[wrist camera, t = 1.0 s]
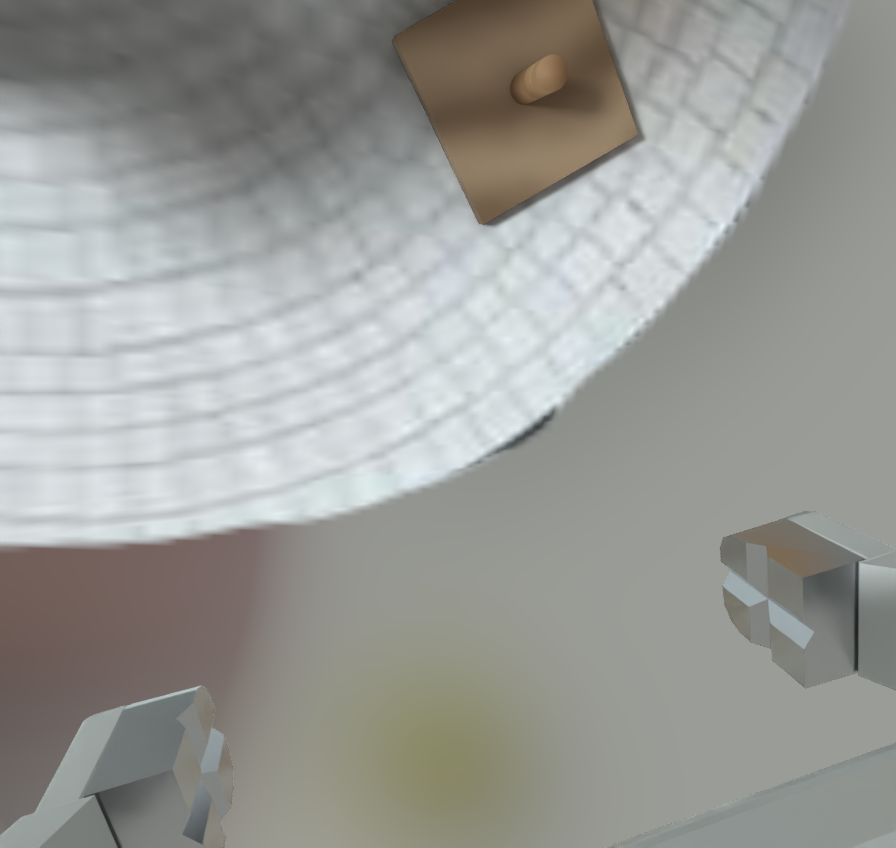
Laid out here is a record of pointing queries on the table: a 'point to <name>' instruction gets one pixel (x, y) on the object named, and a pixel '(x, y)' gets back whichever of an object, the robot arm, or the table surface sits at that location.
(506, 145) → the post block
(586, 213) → the table surface
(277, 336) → the table surface
